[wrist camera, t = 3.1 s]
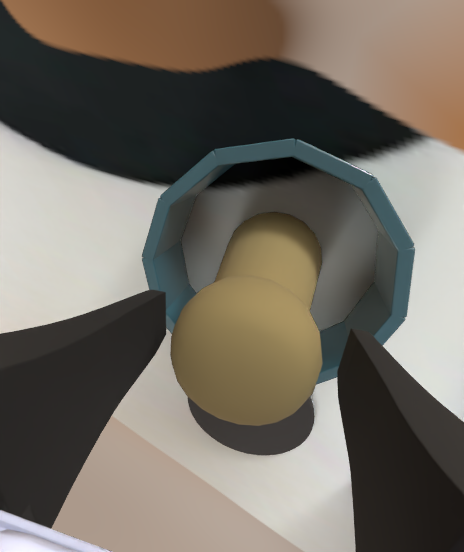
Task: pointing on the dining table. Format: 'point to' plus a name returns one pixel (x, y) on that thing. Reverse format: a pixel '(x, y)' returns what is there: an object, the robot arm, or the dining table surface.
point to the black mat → (258, 431)
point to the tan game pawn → (254, 326)
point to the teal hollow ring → (391, 232)
